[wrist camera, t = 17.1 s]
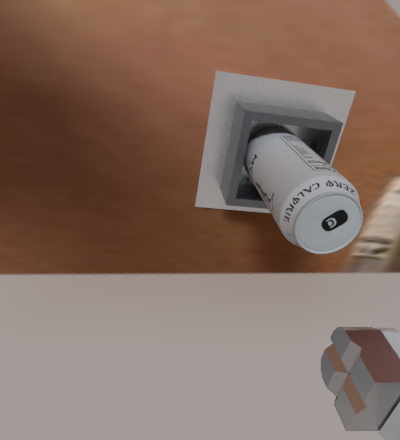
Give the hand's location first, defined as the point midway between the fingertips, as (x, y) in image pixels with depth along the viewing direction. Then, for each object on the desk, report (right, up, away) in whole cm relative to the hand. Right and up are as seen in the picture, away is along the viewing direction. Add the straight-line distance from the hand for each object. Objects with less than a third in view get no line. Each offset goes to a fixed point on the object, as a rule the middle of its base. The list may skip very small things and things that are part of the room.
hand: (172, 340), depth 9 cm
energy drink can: (+8, +10, +30) cm, 33 cm away
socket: (+8, +10, +31) cm, 33 cm away
